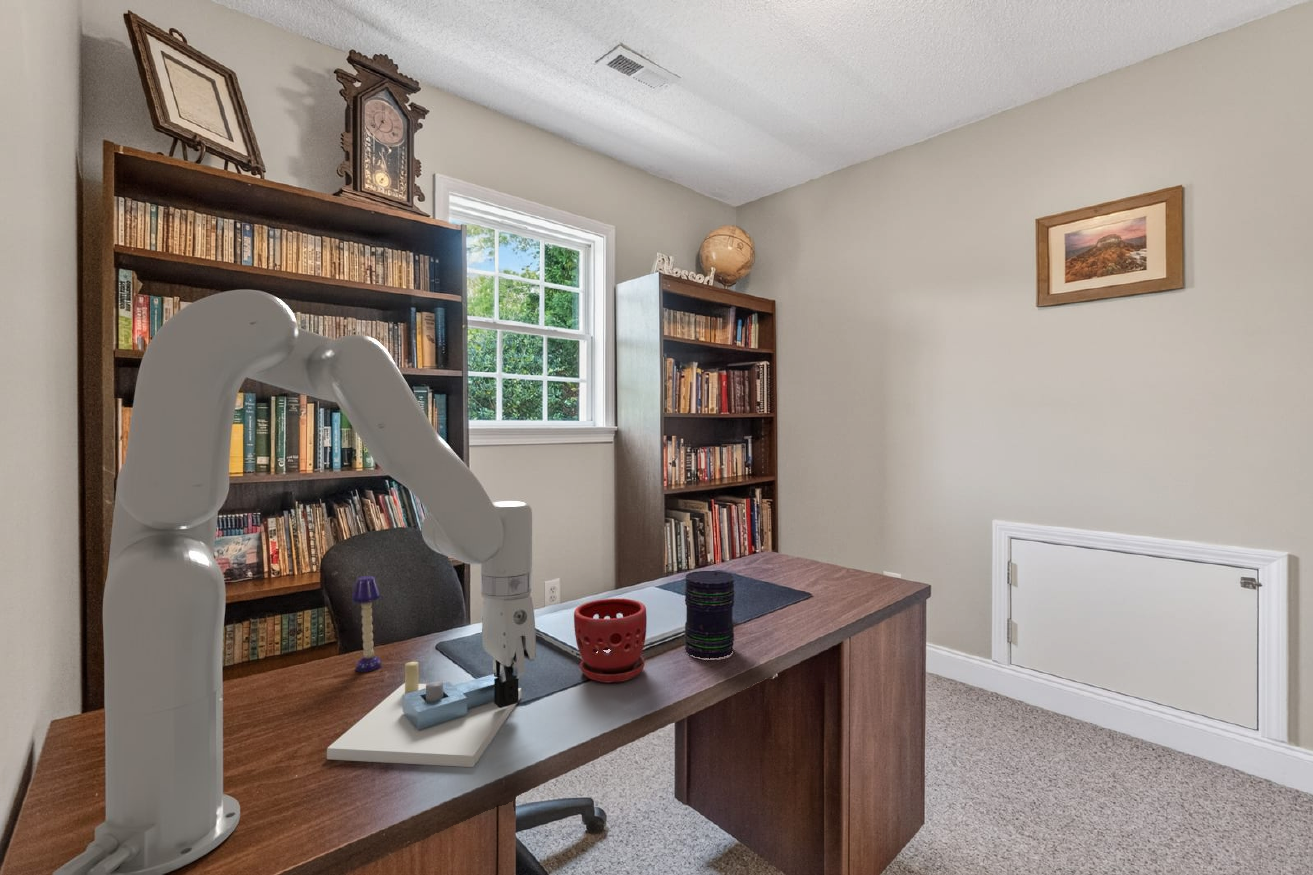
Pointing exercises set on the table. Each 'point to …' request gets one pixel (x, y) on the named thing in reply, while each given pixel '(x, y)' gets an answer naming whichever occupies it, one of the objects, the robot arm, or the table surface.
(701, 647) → the storage jar
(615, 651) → the plant pot
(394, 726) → the post board
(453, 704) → the square nut with handle
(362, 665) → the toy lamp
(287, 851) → the table surface
